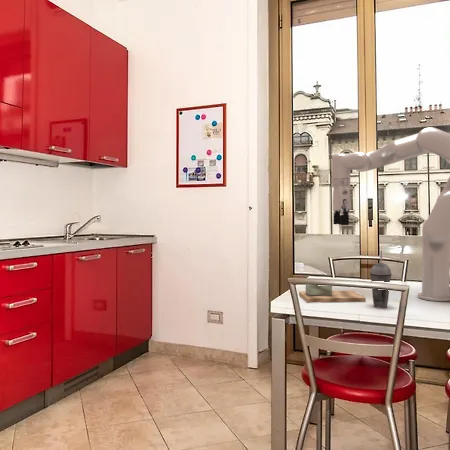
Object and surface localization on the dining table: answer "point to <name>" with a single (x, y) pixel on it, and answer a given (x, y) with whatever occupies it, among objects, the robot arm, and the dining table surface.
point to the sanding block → (318, 290)
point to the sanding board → (334, 297)
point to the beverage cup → (380, 274)
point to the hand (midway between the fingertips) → (340, 224)
